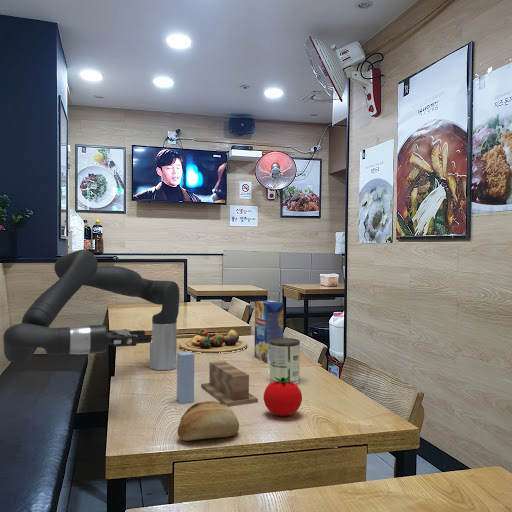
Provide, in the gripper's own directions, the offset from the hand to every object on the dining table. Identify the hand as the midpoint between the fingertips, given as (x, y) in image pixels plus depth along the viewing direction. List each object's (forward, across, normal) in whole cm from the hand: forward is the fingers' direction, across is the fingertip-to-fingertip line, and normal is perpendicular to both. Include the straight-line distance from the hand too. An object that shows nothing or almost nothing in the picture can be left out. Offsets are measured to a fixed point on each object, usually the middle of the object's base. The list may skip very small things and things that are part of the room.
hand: (147, 336), depth 133 cm
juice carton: (+60, +41, +19) cm, 75 cm away
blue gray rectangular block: (+11, 0, +20) cm, 23 cm away
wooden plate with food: (+48, +75, +20) cm, 91 cm away
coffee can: (+49, +8, +20) cm, 53 cm away
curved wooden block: (+26, +1, +20) cm, 32 cm away
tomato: (+32, -22, +20) cm, 44 cm away
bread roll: (+8, -28, +20) cm, 36 cm away
